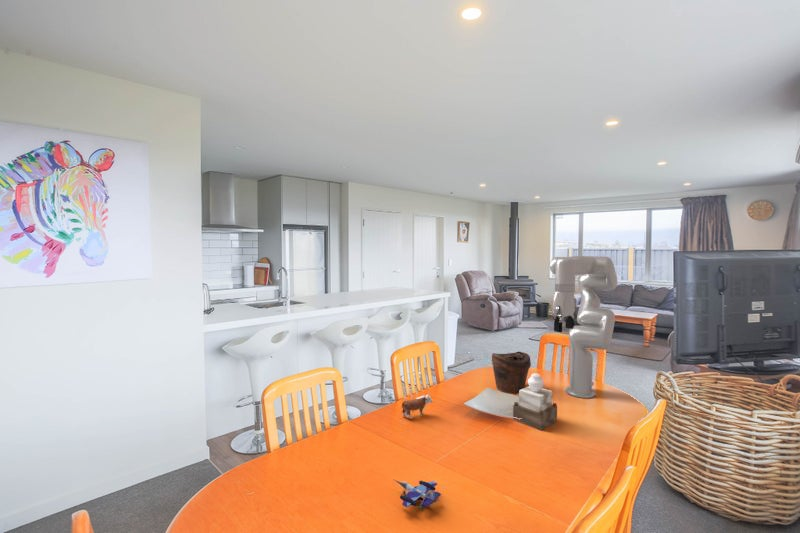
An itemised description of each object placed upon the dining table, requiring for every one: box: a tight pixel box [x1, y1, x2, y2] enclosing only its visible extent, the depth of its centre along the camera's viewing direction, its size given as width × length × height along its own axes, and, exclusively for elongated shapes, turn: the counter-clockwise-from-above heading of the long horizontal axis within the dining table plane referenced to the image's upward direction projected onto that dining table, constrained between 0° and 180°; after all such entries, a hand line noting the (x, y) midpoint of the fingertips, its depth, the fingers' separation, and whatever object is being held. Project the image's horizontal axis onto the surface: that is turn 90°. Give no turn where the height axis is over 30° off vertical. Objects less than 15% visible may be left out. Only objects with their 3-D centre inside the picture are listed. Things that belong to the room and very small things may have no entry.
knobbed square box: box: [512, 385, 558, 431], centre depth 157 cm, size 12×12×12 cm
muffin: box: [527, 372, 545, 392], centre depth 157 cm, size 6×6×7 cm
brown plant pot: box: [491, 351, 532, 394], centre depth 192 cm, size 18×20×18 cm
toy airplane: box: [394, 479, 442, 510], centre depth 109 cm, size 13×14×4 cm
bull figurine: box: [401, 394, 434, 420], centre depth 162 cm, size 4×13×8 cm, turn 112°
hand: (563, 330), depth 164 cm, fingers open, 9 cm apart
